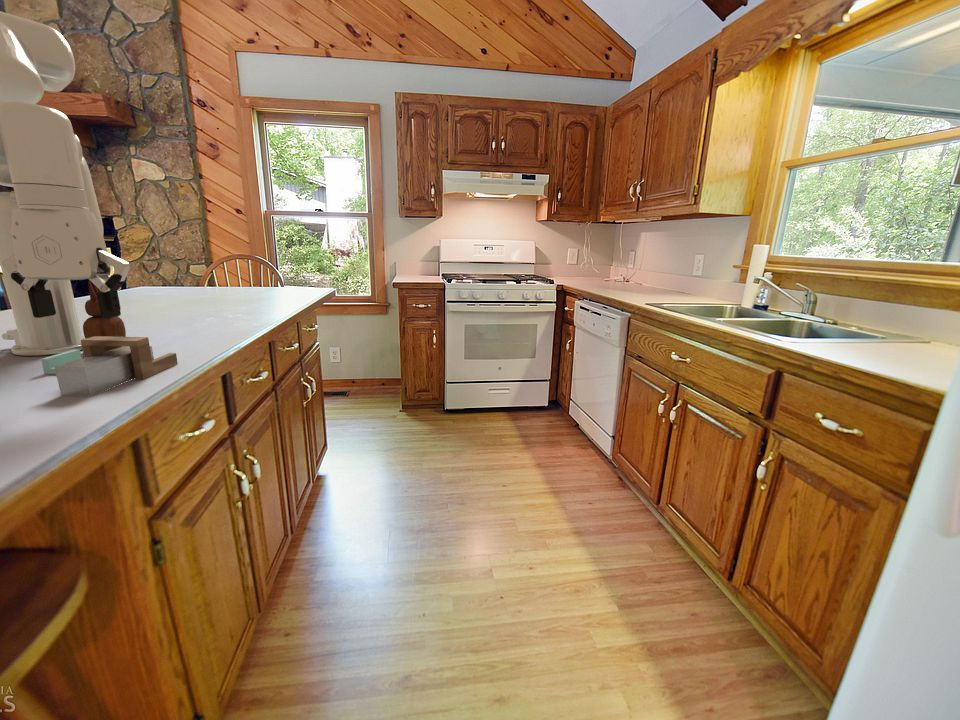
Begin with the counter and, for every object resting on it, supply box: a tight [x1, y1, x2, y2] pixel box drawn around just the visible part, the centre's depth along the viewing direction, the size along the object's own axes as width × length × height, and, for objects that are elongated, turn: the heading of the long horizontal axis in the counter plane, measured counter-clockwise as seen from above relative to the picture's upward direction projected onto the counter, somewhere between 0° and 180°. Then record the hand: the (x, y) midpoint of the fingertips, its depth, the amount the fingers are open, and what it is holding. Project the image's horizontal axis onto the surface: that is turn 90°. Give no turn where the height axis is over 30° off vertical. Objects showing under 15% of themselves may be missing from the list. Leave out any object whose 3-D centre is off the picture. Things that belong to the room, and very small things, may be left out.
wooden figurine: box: [82, 280, 127, 352], centre depth 91 cm, size 7×6×15 cm
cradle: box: [40, 349, 83, 375], centre depth 80 cm, size 9×7×3 cm
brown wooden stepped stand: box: [81, 336, 179, 380], centre depth 79 cm, size 9×10×7 cm
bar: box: [54, 345, 155, 397], centre depth 73 cm, size 5×14×5 cm, turn 0°
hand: (78, 316), depth 67 cm, fingers open, 9 cm apart
